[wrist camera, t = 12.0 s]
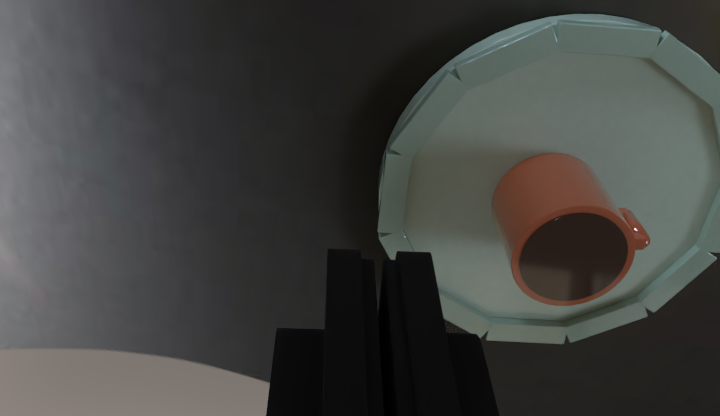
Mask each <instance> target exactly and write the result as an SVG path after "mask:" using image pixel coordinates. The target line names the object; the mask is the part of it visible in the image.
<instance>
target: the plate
mask: <svg viewBox="0 0 720 416" xmlns="http://www.w3.org/2000/svg"><path fill="white" fill-rule="evenodd" d="M546 153H562V154H568V155H571V156H574V157H577V158H579V159H581V160H582V161H584V162H585V163H587V164H588V165H589V166H590V167H591V168H592V169H593V171H594V172H595V173H596V175H597V176H598V178H599V179H600V181H601V183H602V184H603V186H604V187H605V189H606V190H607V192H608V193H609V195H610V196H611V198H612V200H613V201H614V203H615V204H616V206H617V207H618V208H626V209H628V210H631V211H632V212H633V213H634V214H635V216H636V217H637V219H638V220H639V222H640V223H641V225H642V226H643V228H644V229H645V231H646V232H647V234H648V235H649V237H650V244H649V245H648V246H647V247H645V248H644V250H635V256H634V260H633V263H632V265H631V267H630V269H629V271H628V272H627V274H626V275H625V277H624V278H623V279H622V280H621V281H620V283H618V284H617V285H616V286H615V287H614V288H613V289H611V290H610V291H609V292H607V293H606V294H604V295H602V296H600V297H598V298H596V299H594V300H592V301H589V302H586V303H582V304H578V305H571V306H555V305H548V304H545V303H541V302H539V301H536V300H534V299H532V298H531V297H529V296H528V295H526V294H525V293H524V292H523V291H522V290H521V289H520V288H519V287H518V285H517V284H516V282H515V280H514V278H513V275H512V272H511V269H510V266H509V263H508V260H507V257H506V255H505V252H504V249H503V246H502V243H501V240H500V237H499V234H498V231H497V228H496V225H495V222H494V219H493V216H492V209H491V205H492V198H493V194H494V191H495V189H496V187H497V185H498V183H499V182H500V180H501V179H502V177H503V176H504V175H505V174H506V173H507V172H508V171H509V170H510V169H511V168H512V167H514V166H515V165H517V164H518V163H520V162H522V161H523V160H525V159H528V158H530V157H533V156H536V155H540V154H546ZM378 210H379V213H378V222H377V232H378V233H379V240H380V242H381V244H382V246H383V247H384V249H385V251H386V253H387V255H388V256H389V258H390V260H395V257H396V252H397V251H410V252H430V253H431V255H432V259H433V265H434V270H435V275H436V281H437V286H438V291H439V296H440V302H441V307H442V312H443V318H444V319H445V320H447V321H449V322H451V323H453V324H454V325H456V326H458V327H460V328H462V329H464V330H465V331H467V332H469V333H471V334H477V335H478V336H479V338H481V337H482V336H483V335H484V334H485V338H486V340H490V341H510V342H530V343H549V344H564V341H565V338H566V335H567V338H568V340H569V342H570V343H572V342H575V341H578V340H581V339H584V338H587V337H589V336H592V335H595V334H598V333H601V332H604V331H607V330H610V329H613V328H616V327H619V326H622V325H624V324H627V323H630V322H633V321H636V320H639V319H642V318H645V317H647V316H648V315H647V312H646V309H645V308H647V309H648V310H650V311H652V312H653V313H655V312H656V311H657V310H658V309H659V308H660V307H662V306H663V305H664V304H665V303H666V302H667V301H669V300H670V299H671V298H672V297H673V296H674V295H676V294H677V293H678V292H679V291H680V290H681V289H683V288H684V287H685V286H686V285H687V284H688V283H690V282H691V281H692V280H693V279H694V278H695V277H697V276H698V275H699V274H700V273H701V272H702V271H704V270H705V269H706V268H707V267H708V266H709V265H711V264H712V263H713V262H714V261H715V260H716V259H717V257H716V256H715V255H714V253H720V74H719V73H718V72H717V71H716V70H715V69H713V68H712V67H711V66H710V65H709V64H708V63H707V62H706V61H705V60H704V59H703V58H702V57H701V56H700V55H699V54H698V53H696V52H695V51H694V50H692V49H691V48H689V47H688V46H687V45H685V44H684V43H682V42H681V41H679V40H678V39H676V38H675V37H674V36H672V35H671V34H670V33H669V32H667V31H666V30H665V31H662V30H660V29H659V28H657V27H653V26H651V25H648V24H645V23H641V22H638V21H635V20H631V19H628V18H623V17H616V16H609V15H603V14H570V15H561V16H553V17H546V18H542V19H538V20H534V21H530V22H526V23H522V24H519V25H516V26H514V27H511V28H508V29H506V30H503V31H500V32H498V33H495V34H493V35H491V36H489V37H488V38H486V39H484V40H482V41H480V42H478V43H476V44H474V45H472V46H471V47H469V48H468V49H466V50H465V51H463V52H462V53H460V54H459V55H458V56H456V57H455V58H453V59H452V60H450V61H449V62H448V63H447V64H446V65H444V66H443V67H442V68H441V69H440V70H439V71H438V72H436V73H435V74H434V75H433V76H432V77H431V78H430V79H429V80H428V81H427V82H426V83H425V84H424V86H423V87H422V88H421V89H420V90H419V91H418V92H417V93H416V95H415V96H414V97H413V98H412V100H411V101H410V103H409V104H408V106H407V107H406V109H405V110H404V111H403V113H402V114H401V116H400V117H399V119H398V121H397V123H396V125H395V127H394V129H393V131H392V133H391V135H390V137H389V140H388V143H387V146H386V149H385V152H384V155H383V158H382V163H381V168H380V174H379V179H378ZM713 252H714V253H713Z"/></svg>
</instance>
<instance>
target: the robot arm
mask: <svg viewBox="0 0 720 416" xmlns="http://www.w3.org/2000/svg"><path fill="white" fill-rule="evenodd" d="M266 416H499V413H498V409H497V405H496V401H495V396H494V392H493V388H492V384H491V380H490V376H489V372H488V368H487V364H486V360H485V356H484V352H483V348H482V344H481V341H480V338H479V336H478V335H477V334H464V333H446V328H445V323H444V318H443V312H442V307H441V302H440V296H439V291H438V286H437V281H436V275H435V270H434V265H433V259H432V255H431V253H430V252H410V251H397V252H396V257H395V260H386V259H384V261H383V267H382V278H381V289H380V299H379V310H378V313H377V298H376V283H375V268H374V259H361V250H353V249H328V256H327V280H326V304H325V328H324V329H290V328H277V331H276V338H275V346H274V355H273V363H272V372H271V380H270V389H269V397H268V405H267V415H266Z"/></svg>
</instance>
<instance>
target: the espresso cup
mask: <svg viewBox="0 0 720 416" xmlns="http://www.w3.org/2000/svg"><path fill="white" fill-rule="evenodd" d="M491 209H492V216H493V219H494V222H495V225H496V228H497V231H498V234H499V237H500V240H501V243H502V246H503V249H504V252H505V255H506V257H507V260H508V263H509V266H510V269H511V272H512V275H513V278H514V280H515V282H516V284H517V285H518V287H519V288H520V289H521V290H522V291H523V292H524V293H525V294H526V295H528V296H529V297H531V298H532V299H534V300H536V301H539V302H541V303H545V304H548V305H555V306H571V305H578V304H582V303H586V302H589V301H592V300H594V299H596V298H598V297H600V296H602V295H604V294H606V293H607V292H609V291H610V290H611V289H613V288H614V287H615V286H616V285H617V284H618V283H620V281H621V280H622V279H623V278H624V277H625V275H626V274H627V272H628V271H629V269H630V267H631V265H632V263H633V260H634V256H635V250H644V248H645V247H647V246H648V245H649V244H650V237H649V235H648V234H647V232H646V231H645V229H644V228H643V226H642V225H641V223H640V222H639V220H638V219H637V217H636V216H635V214H634V213H633V212H632V211H631V210H628V209H626V208H618V207H617V206H616V204H615V203H614V201H613V200H612V198H611V196H610V195H609V193H608V192H607V190H606V189H605V187H604V186H603V184H602V183H601V181H600V179H599V178H598V176H597V175H596V173H595V172H594V171H593V169H592V168H591V167H590V166H589V165H588V164H587V163H585V162H584V161H582V160H581V159H579V158H577V157H574V156H571V155H568V154H562V153H546V154H540V155H536V156H533V157H530V158H528V159H525V160H523V161H522V162H520V163H518V164H517V165H515V166H514V167H512V168H511V169H510V170H509V171H508V172H507V173H506V174H505V175H504V176H503V177H502V179H501V180H500V182H499V183H498V185H497V187H496V189H495V191H494V194H493V198H492V205H491Z"/></svg>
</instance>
